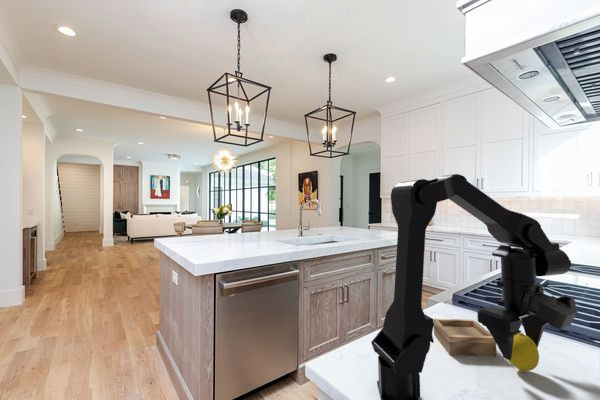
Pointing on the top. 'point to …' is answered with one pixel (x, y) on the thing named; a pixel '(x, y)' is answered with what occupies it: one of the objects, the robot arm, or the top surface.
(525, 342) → the lemon
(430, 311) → the top surface
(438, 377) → the top surface
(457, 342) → the tan open box
